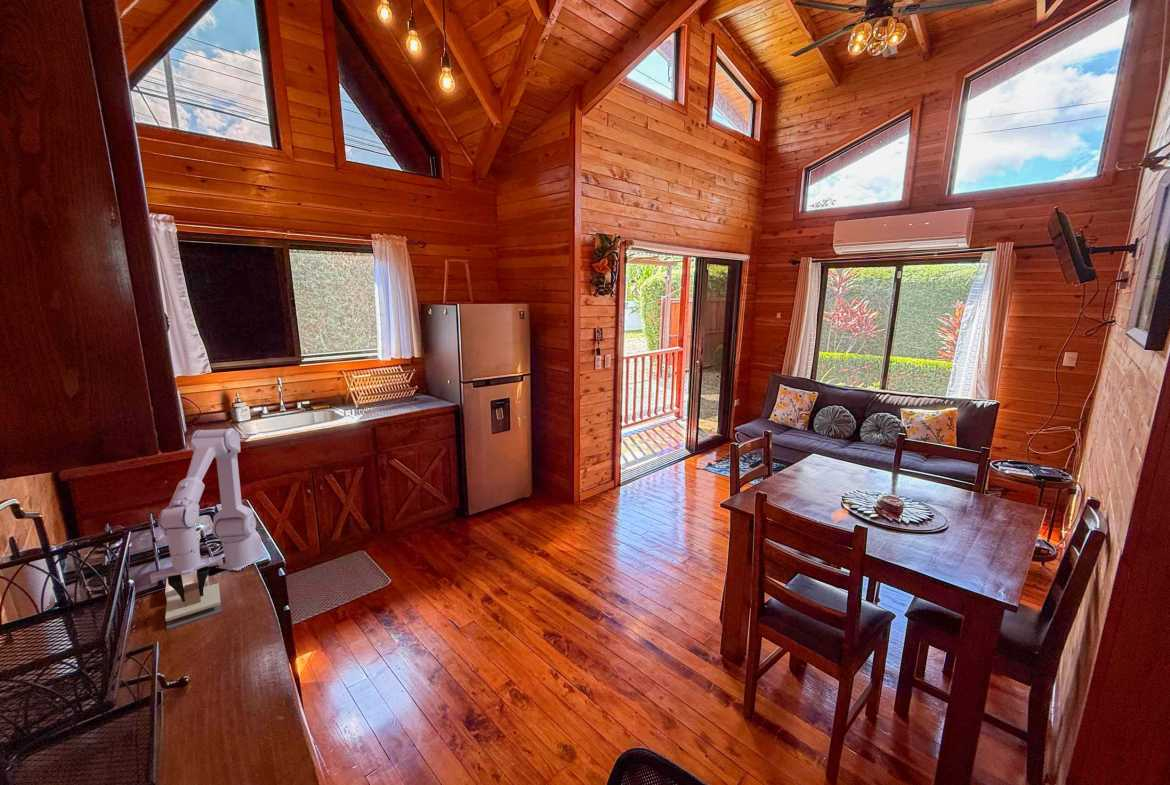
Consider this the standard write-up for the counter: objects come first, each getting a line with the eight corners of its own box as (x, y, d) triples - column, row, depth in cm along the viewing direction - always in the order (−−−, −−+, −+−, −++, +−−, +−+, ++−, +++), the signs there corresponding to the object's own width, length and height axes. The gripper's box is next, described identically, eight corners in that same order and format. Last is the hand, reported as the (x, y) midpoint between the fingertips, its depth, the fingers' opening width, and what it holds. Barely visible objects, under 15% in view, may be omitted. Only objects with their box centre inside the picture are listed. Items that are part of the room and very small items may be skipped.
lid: (167, 600, 129) (165, 585, 128) (219, 585, 136) (216, 571, 135) (165, 621, 120) (162, 606, 120) (220, 604, 127) (218, 589, 126)
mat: (169, 605, 130) (169, 603, 130) (220, 590, 137) (219, 588, 136) (166, 630, 120) (166, 628, 120) (221, 612, 126) (221, 611, 126)
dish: (169, 589, 137) (166, 578, 137) (208, 577, 143) (206, 567, 142) (167, 604, 130) (165, 592, 130) (209, 591, 136) (207, 580, 135)
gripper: (145, 565, 118) (155, 615, 120) (219, 546, 126) (227, 593, 129) (148, 554, 123) (157, 602, 125) (219, 537, 132) (226, 582, 134)
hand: (193, 597), depth 128 cm, fingers closed on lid, 3 cm apart
